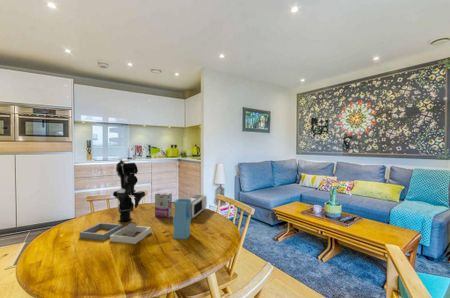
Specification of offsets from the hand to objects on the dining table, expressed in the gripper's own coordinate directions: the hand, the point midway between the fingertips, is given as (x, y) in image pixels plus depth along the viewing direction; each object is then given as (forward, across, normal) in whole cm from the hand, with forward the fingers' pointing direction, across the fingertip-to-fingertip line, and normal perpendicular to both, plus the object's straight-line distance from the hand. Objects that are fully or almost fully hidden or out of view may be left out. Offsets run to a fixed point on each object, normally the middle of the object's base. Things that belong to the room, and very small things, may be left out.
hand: (129, 207), depth 133 cm
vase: (+12, +37, -5) cm, 39 cm away
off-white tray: (+12, +10, -12) cm, 20 cm away
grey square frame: (+12, -9, -12) cm, 19 cm away
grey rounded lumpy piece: (+12, +10, -12) cm, 20 cm away
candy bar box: (+12, +11, +23) cm, 28 cm away
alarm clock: (+12, +30, +35) cm, 48 cm away
